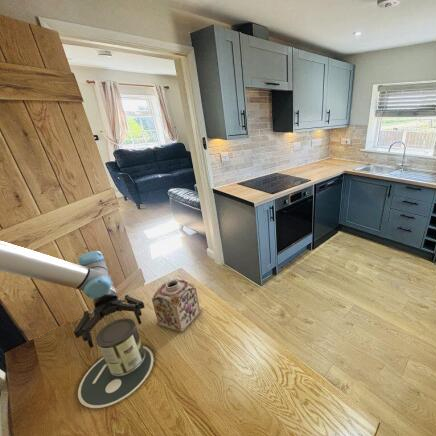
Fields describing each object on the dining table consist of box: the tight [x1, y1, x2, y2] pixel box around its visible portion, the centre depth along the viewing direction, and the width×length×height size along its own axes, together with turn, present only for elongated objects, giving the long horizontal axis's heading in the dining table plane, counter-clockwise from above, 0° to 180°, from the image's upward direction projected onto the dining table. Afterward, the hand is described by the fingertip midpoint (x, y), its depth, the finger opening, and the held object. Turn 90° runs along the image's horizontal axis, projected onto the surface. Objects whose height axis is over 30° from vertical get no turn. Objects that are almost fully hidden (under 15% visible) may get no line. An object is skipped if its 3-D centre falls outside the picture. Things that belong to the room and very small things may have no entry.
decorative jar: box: [151, 278, 201, 333], centre depth 94 cm, size 12×12×18 cm
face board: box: [77, 345, 154, 409], centre depth 76 cm, size 20×20×1 cm
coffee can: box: [95, 317, 145, 376], centre depth 77 cm, size 10×10×14 cm
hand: (116, 332), depth 79 cm, fingers open, 13 cm apart
